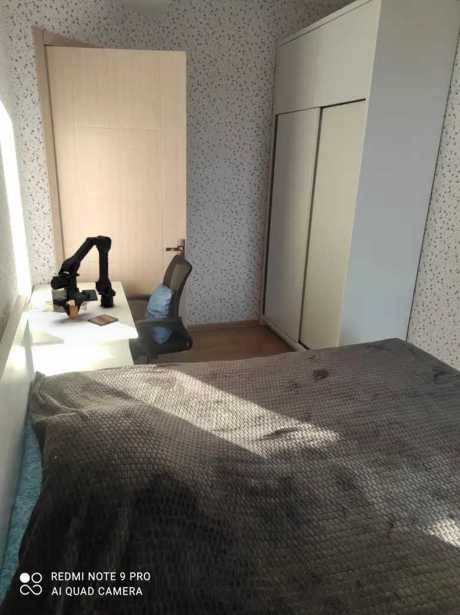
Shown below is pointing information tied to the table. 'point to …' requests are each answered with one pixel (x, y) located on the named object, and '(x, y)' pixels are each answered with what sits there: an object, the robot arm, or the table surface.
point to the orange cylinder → (73, 312)
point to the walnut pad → (102, 320)
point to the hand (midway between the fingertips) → (73, 314)
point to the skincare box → (58, 294)
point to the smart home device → (91, 295)
